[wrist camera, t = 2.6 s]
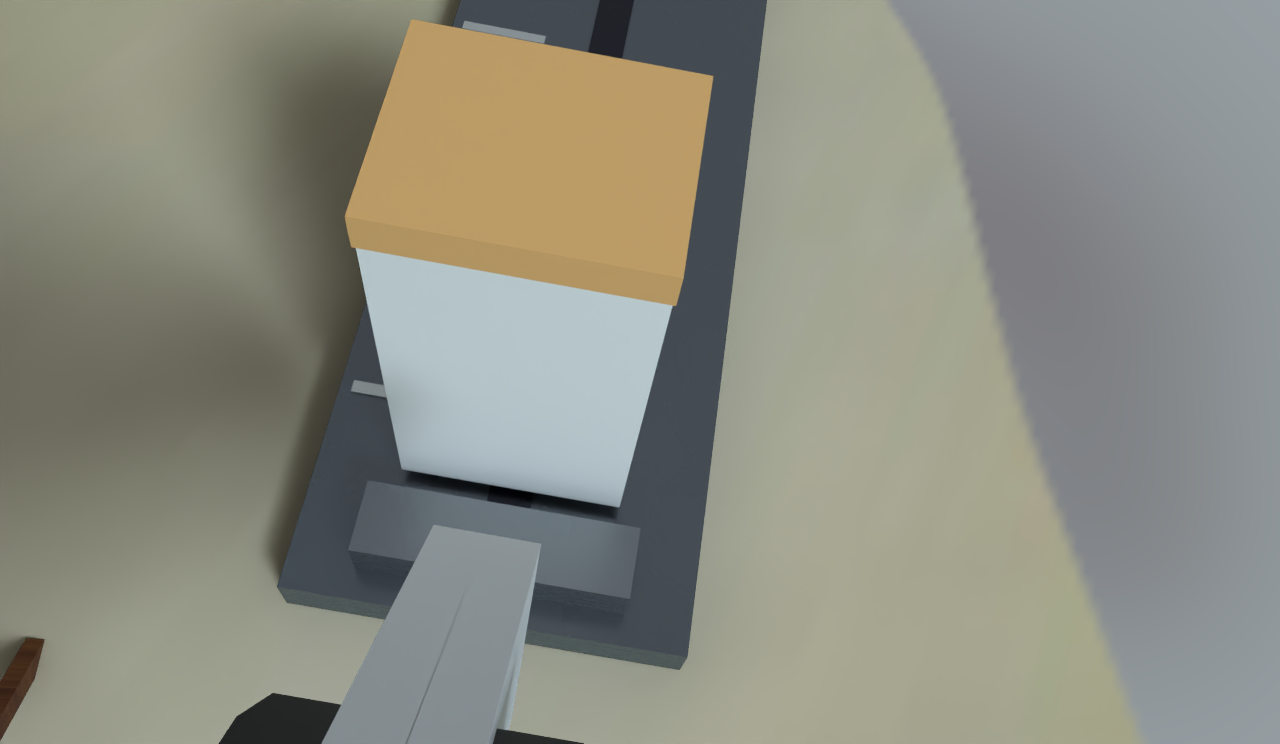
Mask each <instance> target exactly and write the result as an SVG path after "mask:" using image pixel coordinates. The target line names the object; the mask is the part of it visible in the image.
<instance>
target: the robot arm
mask: <svg viewBox="0 0 1280 744" xmlns="http://www.w3.org/2000/svg"><path fill="white" fill-rule="evenodd" d="M540 548H541V544H540V543H535V542H529V541H523V540H518V539H512V538H506V537H501V536H495V535H489V534H484V533H478V532H472V531H467V530H461V529H455V528H450V527H444V526H438V525H433V527H432V529H431V531H430V533H429V535H428V537H427V539H426V541H425V543H424V545H423V547H422V549H421V551H420V553H419V554H418V556H417V558H416V560H415V562H414V564H413V566H412V568H411V570H410V572H409V574H408V576H407V578H406V580H405V582H404V584H403V586H402V588H401V590H400V592H399V593H398V595H397V597H396V599H395V601H394V603H393V605H392V607H391V609H390V611H389V613H388V615H387V617H386V619H385V621H384V623H383V625H382V627H381V629H380V630H379V632H378V634H377V636H376V638H375V640H374V642H373V644H372V646H371V648H370V650H369V652H368V654H367V656H366V658H365V660H364V662H363V664H362V666H361V668H360V669H359V671H358V673H357V675H356V677H355V679H354V681H353V683H352V685H351V687H350V689H349V691H348V693H347V695H346V697H345V699H344V701H343V703H342V705H340V704H334V703H328V702H322V701H316V700H311V699H305V698H299V697H293V696H287V695H282V694H276V693H272V694H271V695H269V696H267V697H266V698H264V699H263V700H261V701H260V702H258V703H257V704H255V705H254V706H252V707H251V708H249V709H248V710H246V711H244V712H243V713H241V714H240V715H238V716H237V717H236V718H235V720H234V721H233V723H232V724H231V726H230V727H229V729H228V730H227V732H226V733H225V735H224V736H223V738H222V739H221V741H220V742H219V744H584V743H579V742H573V741H567V740H561V739H556V738H550V737H544V736H538V735H532V734H527V733H521V732H515V731H509V726H510V722H511V718H512V714H513V708H514V702H515V696H516V690H517V684H518V678H519V672H520V666H521V660H522V655H523V649H524V643H525V637H526V631H527V625H528V619H529V613H530V607H531V601H532V595H533V589H534V583H535V578H536V572H537V566H538V560H539V554H540Z"/></svg>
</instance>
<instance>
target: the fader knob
mask: <svg viewBox="0 0 1280 744" xmlns="http://www.w3.org/2000/svg"><path fill="white" fill-rule="evenodd" d="M712 82H713V76H710V75H705V74H700V73H694V72H689V71H684V70H678V69H673V68H668V67H663V66H657V65H652V64H647V63H641V62H636V61H631V60H625V59H620V58H615V57H609V56H604V55H599V54H594V53H588V52H583V51H578V50H572V49H567V48H562V47H556V46H551V45H546V44H540V43H535V42H530V41H525V40H519V39H514V38H509V37H503V36H498V35H493V34H487V33H482V32H477V31H471V30H466V29H461V28H456V27H450V26H445V25H440V24H434V23H429V22H424V21H418V20H413V19H411V22H410V25H409V28H408V31H407V34H406V37H405V40H404V43H403V46H402V49H401V52H400V54H399V57H398V60H397V63H396V66H395V69H394V72H393V75H392V78H391V81H390V84H389V87H388V90H387V93H386V96H385V99H384V102H383V105H382V108H381V110H380V113H379V116H378V119H377V122H376V125H375V128H374V131H373V134H372V137H371V140H370V143H369V146H368V149H367V152H366V155H365V158H364V161H363V164H362V166H361V169H360V172H359V175H358V178H357V181H356V184H355V187H354V190H353V193H352V196H351V199H350V202H349V205H348V208H347V211H346V214H345V221H346V226H347V230H348V235H349V240H350V244H351V247H353V248H356V251H357V256H358V261H359V266H360V271H361V276H362V280H363V285H364V290H365V295H366V300H367V304H368V309H369V314H370V319H371V324H372V329H373V333H374V338H375V343H376V348H377V353H378V357H379V362H380V367H381V372H382V377H383V382H384V386H385V391H386V396H387V401H388V406H389V410H390V415H391V420H392V425H393V430H394V434H395V439H396V444H397V449H398V454H399V459H400V463H401V468H402V469H403V470H409V471H414V472H420V473H426V474H431V475H437V476H443V477H449V478H454V479H460V480H466V481H471V482H477V483H483V484H488V485H494V486H500V487H505V488H511V489H517V490H523V491H528V492H534V493H540V494H545V495H551V496H557V497H562V498H568V499H574V500H579V501H585V502H591V503H597V504H602V505H608V506H614V507H620V503H621V500H622V496H623V492H624V488H625V484H626V481H627V477H628V473H629V469H630V465H631V462H632V458H633V454H634V450H635V446H636V443H637V439H638V435H639V431H640V427H641V424H642V420H643V416H644V412H645V408H646V405H647V401H648V397H649V393H650V390H651V386H652V382H653V378H654V374H655V371H656V367H657V363H658V359H659V355H660V352H661V348H662V344H663V340H664V336H665V333H666V329H667V325H668V321H669V317H670V314H671V310H672V306H676V305H677V301H678V297H679V293H680V290H681V286H682V282H683V279H684V272H685V265H686V258H687V252H688V245H689V238H690V231H691V224H692V218H693V211H694V204H695V197H696V191H697V184H698V177H699V170H700V163H701V157H702V150H703V143H704V136H705V130H706V123H707V116H708V109H709V102H710V96H711V89H712Z"/></svg>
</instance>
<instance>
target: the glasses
mask: <svg viewBox="0 0 1280 744" xmlns="http://www.w3.org/2000/svg"><path fill="white" fill-rule="evenodd" d="M43 644H44V639H28V638H26V640H25V641H24V643H23V645H22V646H21V648H20V650H19V651H18V653H17V655H16V656H15V658H14V660H13V661H12V663H11V665H10V666H9V668H8V670H7V671H6V673H5V675H4V676H3V678H2V680H1V681H0V740H1V739H2V737H3V735H4V733H5V731H6V730H7V728H8V726H9V724H10V722H11V720H12V719H13V717H14V715H15V713H16V711H17V710H18V708H19V706H20V704H21V702H22V701H23V699H24V697H25V695H26V693H27V691H28V690H29V688H30V686H31V684H32V682H33V681H34V679H35V675H36V671H37V667H38V663H39V659H40V655H41V652H42V648H43Z"/></svg>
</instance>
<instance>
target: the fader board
mask: <svg viewBox="0 0 1280 744" xmlns="http://www.w3.org/2000/svg"><path fill="white" fill-rule="evenodd" d="M766 4H767V0H461V1H460V4H459V7H458V10H457V13H456V17H455V20H454V23H453V26H452V27H456V28H461V29H466V30H471V31H477V32H482V33H487V34H493V35H498V36H503V37H509V38H514V39H519V40H525V41H530V42H535V43H540V44H546V45H551V46H556V47H562V48H567V49H572V50H578V51H583V52H588V53H594V54H599V55H604V56H609V57H615V58H620V59H625V60H631V61H636V62H641V63H647V64H652V65H657V66H663V67H668V68H673V69H678V70H684V71H689V72H694V73H700V74H705V75H710V76H713V82H712V89H711V96H710V102H709V109H708V116H707V123H706V130H705V136H704V143H703V150H702V157H701V163H700V170H699V177H698V184H697V191H696V197H695V204H694V211H693V218H692V224H691V231H690V238H689V245H688V252H687V258H686V265H685V272H684V279H683V282H682V286H681V290H680V293H679V297H678V301H677V305H676V306H672V310H671V314H670V317H669V321H668V325H667V329H666V333H665V336H664V340H663V344H662V348H661V352H660V355H659V359H658V363H657V367H656V371H655V374H654V378H653V382H652V386H651V390H650V393H649V397H648V401H647V405H646V408H645V412H644V416H643V420H642V424H641V427H640V431H639V435H638V439H637V443H636V446H635V450H634V454H633V458H632V462H631V465H630V469H629V473H628V477H627V481H626V484H625V488H624V492H623V496H622V500H621V503H620V507H614V506H608V505H602V504H597V503H591V502H585V501H579V500H574V499H568V498H562V497H557V496H551V495H545V494H540V493H534V492H528V491H523V490H517V489H511V488H505V487H500V486H494V485H488V484H483V483H477V482H471V481H466V480H460V479H454V478H449V477H443V476H437V475H431V474H426V473H420V472H414V471H409V470H403V469H402V468H401V463H400V459H399V454H398V449H397V444H396V439H395V434H394V430H393V425H392V420H391V415H390V410H389V406H388V401H387V396H386V391H385V386H384V382H383V377H382V372H381V367H380V362H379V357H378V353H377V348H376V343H375V338H374V333H373V329H372V324H371V319H370V314H369V309H368V304H367V301H366V304H365V307H364V311H363V314H362V317H361V320H360V323H359V327H358V330H357V333H356V336H355V339H354V343H353V346H352V349H351V352H350V355H349V359H348V362H347V365H346V368H345V371H344V375H343V378H342V381H341V384H340V387H339V391H338V394H337V397H336V400H335V403H334V407H333V410H332V413H331V416H330V419H329V423H328V426H327V429H326V432H325V435H324V439H323V442H322V445H321V448H320V451H319V455H318V458H317V461H316V464H315V467H314V471H313V474H312V477H311V480H310V483H309V487H308V490H307V493H306V496H305V499H304V503H303V506H302V509H301V512H300V515H299V519H298V522H297V525H296V528H295V531H294V535H293V538H292V541H291V544H290V547H289V551H288V554H287V557H286V560H285V563H284V567H283V570H282V573H281V576H280V579H279V582H278V586H277V587H278V589H279V591H280V592H281V594H282V596H283V597H284V599H285V600H286V602H287V603H292V604H298V605H304V606H310V607H316V608H322V609H327V610H333V611H339V612H345V613H351V614H357V615H362V616H368V617H374V618H380V619H386V617H387V615H388V613H389V611H390V609H391V607H392V605H393V603H394V601H395V599H396V597H397V595H398V593H399V592H400V590H401V588H402V586H403V584H404V582H405V580H406V578H407V576H408V574H409V572H410V570H411V568H412V566H413V564H414V562H415V560H416V558H417V556H418V554H419V553H420V551H421V549H422V547H423V545H424V543H425V541H426V539H427V537H428V535H429V533H430V531H431V529H432V527H433V525H438V526H444V527H450V528H455V529H461V530H467V531H472V532H478V533H484V534H489V535H495V536H501V537H506V538H512V539H518V540H523V541H529V542H535V543H540V544H541V548H540V554H539V560H538V566H537V572H536V578H535V583H534V589H533V595H532V601H531V607H530V613H529V619H528V625H527V631H526V637H525V643H526V644H532V645H537V646H543V647H549V648H555V649H561V650H567V651H572V652H578V653H584V654H590V655H596V656H602V657H607V658H613V659H619V660H625V661H631V662H637V663H642V664H648V665H654V666H660V667H666V668H672V669H677V670H680V668H681V667H682V665H683V663H684V662H685V660H686V659H687V656H688V648H689V639H690V631H691V623H692V615H693V606H694V598H695V590H696V582H697V573H698V565H699V557H700V549H701V540H702V532H703V524H704V516H705V507H706V499H707V491H708V483H709V474H710V466H711V458H712V450H713V441H714V433H715V425H716V417H717V408H718V400H719V392H720V383H721V375H722V367H723V359H724V350H725V342H726V334H727V326H728V317H729V309H730V301H731V293H732V284H733V276H734V268H735V260H736V251H737V243H738V235H739V227H740V218H741V210H742V202H743V194H744V185H745V177H746V169H747V160H748V152H749V144H750V136H751V127H752V119H753V111H754V103H755V94H756V86H757V78H758V70H759V61H760V53H761V45H762V37H763V28H764V20H765V12H766Z"/></svg>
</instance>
